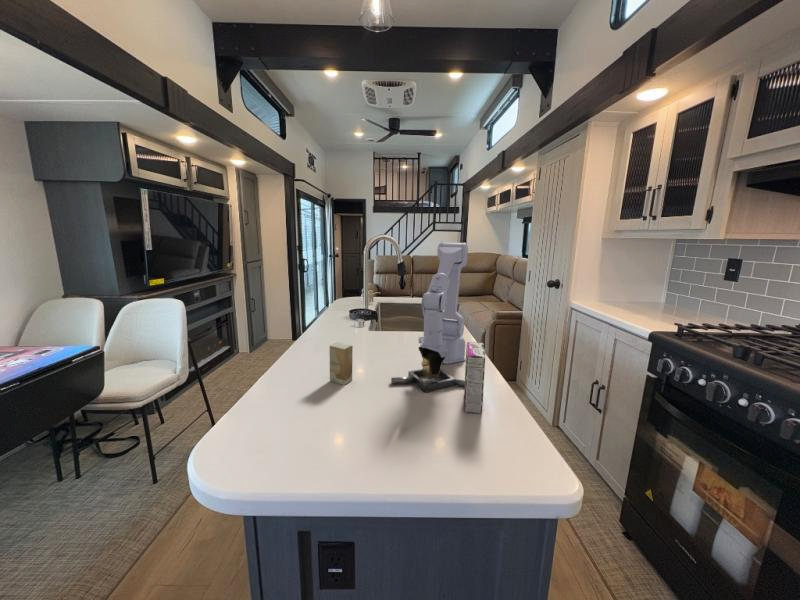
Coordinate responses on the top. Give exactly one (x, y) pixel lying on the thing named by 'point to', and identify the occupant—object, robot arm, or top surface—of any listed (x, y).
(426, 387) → the grey square tray
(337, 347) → the skincare box
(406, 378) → the steel shaft
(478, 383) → the candy bar box
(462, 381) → the steel shaft
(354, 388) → the top surface
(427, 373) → the brass block with pegs
